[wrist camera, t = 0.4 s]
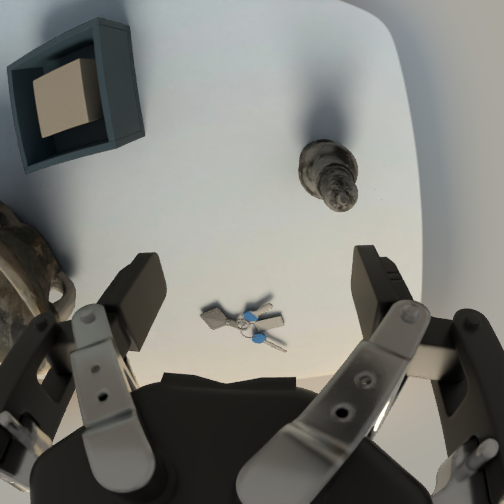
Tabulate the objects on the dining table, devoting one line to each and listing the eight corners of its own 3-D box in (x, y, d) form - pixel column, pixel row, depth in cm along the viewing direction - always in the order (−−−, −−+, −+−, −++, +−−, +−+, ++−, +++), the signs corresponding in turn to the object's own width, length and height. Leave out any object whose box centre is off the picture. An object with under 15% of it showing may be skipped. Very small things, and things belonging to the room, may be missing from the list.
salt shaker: (295, 187, 33) (301, 237, 23) (297, 134, 30) (306, 160, 20) (348, 190, 33) (376, 241, 23) (352, 138, 30) (388, 167, 20)
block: (58, 77, 27) (32, 80, 23) (104, 59, 26) (79, 58, 22) (67, 129, 31) (42, 138, 26) (112, 115, 30) (88, 121, 25)
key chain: (197, 322, 44) (196, 325, 44) (212, 280, 40) (211, 283, 40) (285, 350, 46) (285, 354, 45) (310, 313, 42) (310, 317, 41)
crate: (42, 63, 27) (6, 66, 21) (129, 25, 25) (98, 17, 19) (58, 158, 33) (25, 174, 28) (145, 135, 32) (117, 148, 26)
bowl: (125, 253, 40) (69, 327, 27) (74, 340, 51) (39, 397, 38) (1, 147, 33) (-72, 182, 20) (-19, 257, 44) (-64, 299, 31)
